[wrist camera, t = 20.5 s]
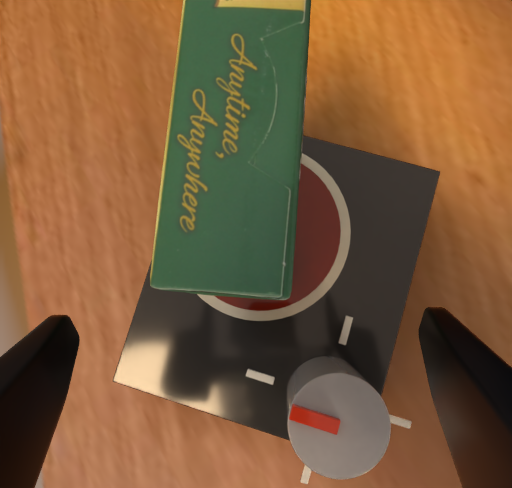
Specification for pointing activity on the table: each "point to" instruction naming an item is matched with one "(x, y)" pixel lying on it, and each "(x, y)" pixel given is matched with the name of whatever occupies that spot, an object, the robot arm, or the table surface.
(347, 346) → the hob
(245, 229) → the coffee box
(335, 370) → the hob knob
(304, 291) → the cooking zone
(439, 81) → the table surface
